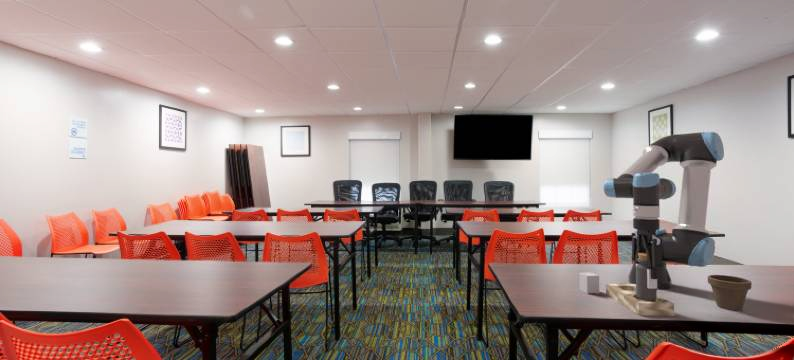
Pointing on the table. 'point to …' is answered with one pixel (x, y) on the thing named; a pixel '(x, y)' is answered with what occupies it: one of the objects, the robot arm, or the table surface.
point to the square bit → (589, 282)
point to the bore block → (639, 301)
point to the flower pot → (729, 291)
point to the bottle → (643, 279)
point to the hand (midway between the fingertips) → (646, 285)
